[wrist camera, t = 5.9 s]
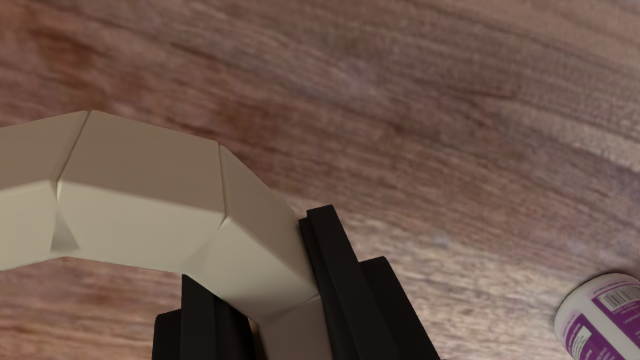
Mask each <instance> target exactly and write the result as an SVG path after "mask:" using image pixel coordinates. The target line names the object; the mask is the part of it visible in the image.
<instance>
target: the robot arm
mask: <svg viewBox="0 0 640 360" xmlns="http://www.w3.org/2000/svg"><path fill="white" fill-rule="evenodd" d="M306 212H307V217H306V218H302V219H298V222H299V228H300V231H301V234H302V237H303V240H304V243H305V246H306V250H307V253H308V256H309V259H310V262H311V265H312V268H313V271H314V274H315V277H316V280H317V283H318V287H319V291H320V294H321V298H322V303H323V309H324V314H325V319H326V325H327V330H328V335H329V341H330V346H331V351H332V357H333V360H441V359H440V357H439V356H438V354H437V352H436V350H435V348H434V346H433V344H432V342H431V341H430V339H429V337H428V335H427V333H426V331H425V329H424V327H423V326H422V324H421V322H420V320H419V318H418V316H417V314H416V312H415V311H414V309H413V307H412V305H411V303H410V301H409V299H408V298H407V296H406V294H405V292H404V290H403V288H402V286H401V284H400V283H399V281H398V279H397V277H396V275H395V273H394V271H393V269H392V268H391V266H390V264H389V262H388V261H387V259H386V258H385V257H384V256H381V257H377V258H373V259H370V260H366V261H362V262H358V260H357V257H356V255H355V253H354V251H353V249H352V246H351V244H350V242H349V240H348V238H347V235H346V233H345V231H344V229H343V227H342V224H341V222H340V220H339V218H338V215H337V213H336V211H335V209H334V207H333V205H332V204H330V205H326V206H322V207H318V208H314V209H310V210H307V211H306ZM152 360H256V356H255V349H254V342H253V335H252V331H251V327H250V324H249V320H248V317H246V316H245V315H243V314H242V313H241V312H239V311H238V310H236V309H235V308H233V307H232V306H231V305H229V304H228V302H225V301H223V300H222V299H221V298H219V297H218V296H216V295H215V294H213V293H212V292H211V291H209V290H208V289H206V288H205V287H204V286H202V285H201V284H199V283H198V282H196V281H195V280H194V279H192V278H191V277H189V276H188V275H186V274H182V299H181V309H178V310H174V311H170V312H167V313H163V314H159V315H157V317H156V320H155V327H154V338H153V350H152ZM442 360H446V359H442Z"/></svg>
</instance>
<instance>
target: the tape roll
mask: <svg viewBox="0 0 640 360" xmlns="http://www.w3.org/2000/svg"><path fill="white" fill-rule="evenodd" d="M63 256H69V257H76V258H82V259H89V260H96V261H102V262H109V263H115V264H122V265H128V266H135V267H141V268H148V269H154V270H161V271H167V272H174V273H180V274H186V275H188V276H189V277H191V278H192V279H194V280H195V281H196V282H198V283H199V284H201V285H202V286H204V287H205V288H206V289H208V290H209V291H211V292H212V293H213V294H215V295H216V296H218V297H219V298H221V299H222V300H223V301H225V302H228V304H229V305H231V306H232V307H233V308H235V309H236V310H238V311H239V312H241V313H242V314H243V315H245V316H246V317H248V318H249V324H250V327H251V331H252V335H253V342H254V349H255V356H256V360H333V357H332V351H331V346H330V341H329V335H328V330H327V325H326V319H325V314H324V309H323V303H322V298H321V294H320V291H319V287H318V283H317V280H316V277H315V274H314V271H313V268H312V265H311V262H310V259H309V256H308V253H307V250H306V246H305V243H304V240H303V237H302V234H301V231H300V228H299V222H298V218H297V217H296V216H295V213H294V211H293V210H292V209H291V208H290V207H289V206H288V205H287V204H286V203H285V202H284V201H283V200H282V199H281V198H279V197H278V196H277V195H276V194H275V193H274V192H273V191H272V190H271V189H270V188H269V187H268V186H267V185H266V184H264V183H263V182H262V181H261V180H260V179H259V178H258V177H257V176H256V175H255V174H254V173H253V172H252V171H250V170H249V169H248V168H247V167H246V166H245V165H244V164H243V163H242V162H241V161H240V160H239V159H238V158H237V157H235V156H234V155H233V154H232V153H231V152H230V151H229V150H228V149H227V148H226V147H225V146H223V145H220V146H218V142H216V141H213V140H209V139H205V138H202V137H198V136H194V135H190V134H186V133H182V132H178V131H174V130H170V129H167V128H163V127H159V126H155V125H151V124H147V123H143V122H139V121H135V120H131V119H128V118H124V117H120V116H116V115H112V114H108V113H104V112H100V111H96V110H92V111H91V112H90V114H89V113H88V112H87V111H78V112H73V113H69V114H64V115H59V116H54V117H49V118H44V119H40V120H35V121H30V122H25V123H20V124H15V125H11V126H6V127H1V128H0V272H1V271H5V270H9V269H13V268H18V267H22V266H26V265H30V264H34V263H38V262H42V261H47V260H51V259H55V258H59V257H63Z"/></svg>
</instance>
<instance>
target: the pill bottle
mask: <svg viewBox="0 0 640 360" xmlns="http://www.w3.org/2000/svg"><path fill="white" fill-rule="evenodd" d="M554 331H555V336H556V338H557V339H558V341H559V342H560V343H561V344H562V346H563V347H564V348H565V349H566V350H567V352H568V353H569V354H570V355H571V356H572V357H573V359H574V360H640V282H639V281H637V280H636V279H635V278H633V277H631V276H628V275H625V274H619V273H612V274H606V275H601V276H599V277H597V278H594V279H592V280H590V281H588V282H587V283H585V284H583V285H581V286H580V287H578V288H577V289H575V290H574V291H573V292H572V293H571V294H570V295H569V296H568V297H567V298H566V299H565V300H564V301H563V303H562V305H561V306H560V308H559V310H558V312H557V314H556V317H555V320H554Z"/></svg>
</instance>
